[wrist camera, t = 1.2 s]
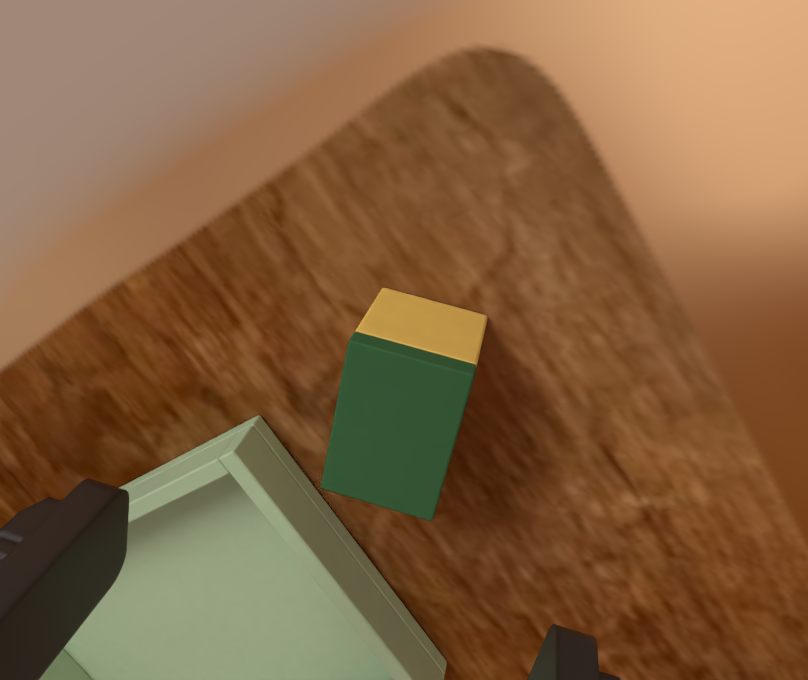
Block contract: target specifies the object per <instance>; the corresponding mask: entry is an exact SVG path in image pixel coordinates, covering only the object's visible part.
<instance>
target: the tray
mask: <svg viewBox="0 0 808 680" xmlns="http://www.w3.org/2000/svg"><path fill="white" fill-rule="evenodd" d="M120 488H121V489H124V490H127V491H128V493H129V515H128V534H127V551H126V557H125V561H124V564H123V566H122V569H121V571H120V573H119V575H118V577H117V579H116V581H115V582H114V584H113V585H112V587H111V588H110V589H109V591H108V592H107V593H106V594H105V596H104V597H103V598H102V599H101V601H100V602H99V603H98V605H97V606H96V607H95V608H94V610H93V611H92V612H91V614H90V615H89V616H88V617H87V619H86V620H85V621H84V623H83V624H82V625H81V626H80V628H79V629H78V630H77V632H76V633H75V634H74V635H73V637H72V638H71V639H70V641H69V642H68V643H67V644H66V646H65V647H64V648H63V649H62V651H61V652H60V653H59V655H58V656H57V657H56V658H55V660H54V661H53V662H52V664H51V665H50V666H49V667H48V669H47V670H46V671H45V673H44V674H43V675H42V676H41V678H40V679H39V680H444V675H445V671H446V665H447V661H446V660H445V658H444V657H443V656H442V655H441V653H440V652H439V651H438V649H437V648H436V647H435V645H434V644H433V643H432V641H431V640H430V639H429V637H428V636H427V635H426V633H425V632H424V631H423V629H422V628H421V627H420V626H419V624H418V623H417V622H416V620H415V619H414V618H413V616H412V615H411V614H410V612H409V611H408V610H407V608H406V607H405V606H404V604H403V603H402V602H401V600H400V599H399V598H398V597H397V595H396V594H395V593H394V591H393V590H392V589H391V587H390V586H389V585H388V583H387V582H386V581H385V579H384V578H383V577H382V575H381V574H380V573H379V571H378V570H377V569H376V568H375V566H374V565H373V564H372V562H371V561H370V560H369V558H368V557H367V556H366V554H365V553H364V552H363V550H362V549H361V548H360V546H359V545H358V544H357V542H356V541H355V540H354V539H353V537H352V536H351V535H350V533H349V532H348V531H347V529H346V528H345V527H344V525H343V524H342V523H341V521H340V520H339V519H338V517H337V516H336V515H335V513H334V512H333V511H332V510H331V508H330V507H329V506H328V504H327V503H326V502H325V500H324V499H323V498H322V496H321V495H320V494H319V492H318V491H317V490H316V488H315V487H314V486H313V484H312V483H311V482H310V481H309V479H308V478H307V477H306V475H305V474H304V473H303V471H302V470H301V469H300V467H299V466H298V465H297V463H296V462H295V461H294V459H293V458H292V457H291V455H290V454H289V453H288V452H287V450H286V449H285V448H284V446H283V445H282V444H281V442H280V441H279V440H278V438H277V437H276V436H275V434H274V433H273V432H272V430H271V429H270V428H269V426H268V425H267V424H266V423H265V421H264V420H263V419H262V417H261V416H260V415H258V416H256V417H254V418H252V419H250V420H248V421H246V422H244V423H243V424H241V425H239V426H237V427H235V428H233V429H231V430H229V431H227V432H225V433H223V434H221V435H220V436H218V437H216V438H214V439H212V440H210V441H208V442H206V443H204V444H202V445H200V446H198V447H197V448H195V449H193V450H191V451H189V452H187V453H185V454H183V455H181V456H179V457H177V458H175V459H174V460H172V461H170V462H168V463H166V464H164V465H162V466H160V467H158V468H156V469H154V470H152V471H151V472H149V473H147V474H145V475H143V476H141V477H139V478H137V479H135V480H133V481H131V482H129V483H128V484H126V485H124V486H122V487H120Z"/></svg>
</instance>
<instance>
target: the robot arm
mask: <svg viewBox="0 0 808 680" xmlns="http://www.w3.org/2000/svg"><path fill="white" fill-rule="evenodd" d="M128 515H129V493H128V491H127V490H124V489H121V488H118V487H115V486H111V485H108V484H105V483H102V482H98V481H95V480H92V479H86V480H84V481H82V482H81V483H80V484H79V485H78V486H77V487H75V488H74V489H73V490H72V491H71V492H70V493H69V494H68V495H67V496H66V497H65V498H64V499H63V500H62V501H60V500H57V499H53V498H50V497H48V498H46V499H44V500H42V501H40V502H38V503H36V504H34V505H32V506H30V507H28V508H26V509H24V510H22V511H20V512H19V513H17V514H16V515H15V516H14V517H13V518H12V519H11V520H10V521H9V522H8V523H7V524H6V525H4V526H3V527H2V528H1V529H0V680H39V679H40V678H41V676H42V675H43V674H44V673H45V671H46V670H47V669H48V667H49V666H50V665H51V664H52V662H53V661H54V660H55V658H56V657H57V656H58V655H59V653H60V652H61V651H62V649H63V648H64V647H65V646H66V644H67V643H68V642H69V641H70V639H71V638H72V637H73V635H74V634H75V633H76V632H77V630H78V629H79V628H80V626H81V625H82V624H83V623H84V621H85V620H86V619H87V617H88V616H89V615H90V614H91V612H92V611H93V610H94V608H95V607H96V606H97V605H98V603H99V602H100V601H101V599H102V598H103V597H104V596H105V594H106V593H107V592H108V591H109V589H110V588H111V587H112V585H113V584H114V582H115V581H116V579H117V577H118V575H119V573H120V571H121V569H122V566H123V564H124V561H125V557H126V551H127V534H128ZM527 680H620V678H619V677H616V676H613V675H609V674H606V673H603V672H600V671H599V667H598V652H597V642H596V639H595V637H594V636H591V635H587V634H584V633H581V632H578V631H574V630H571V629H568V628H565V627H561V626H558V625H555V624H553V625H551V627H550V628H549V630H548V633H547V635H546V637H545V640H544V642H543V644H542V647H541V649H540V651H539V654H538V656H537V658H536V661H535V663H534V665H533V668H532V670H531V672H530V675H529V677H528V679H527Z"/></svg>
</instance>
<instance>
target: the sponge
mask: <svg viewBox="0 0 808 680" xmlns="http://www.w3.org/2000/svg"><path fill="white" fill-rule="evenodd" d="M486 323H487V316H486V315H483V314H480V313H476V312H472V311H469V310H465V309H461V308H458V307H454V306H450V305H446V304H443V303H439V302H435V301H432V300H428V299H424V298H421V297H417V296H413V295H409V294H406V293H402V292H398V291H395V290H391V289H387V288H382V289H381V291H380V292H379V294H378V296H377V297H376V299H375V300H374V302H373V304H372V305H371V307H370V308H369V310H368V312H367V313H366V315H365V316H364V318H363V320H362V321H361V323H360V324H359V326H358V328H357V329H356V331H355V332H354V334H353V335H352V337H351V338H350V340H349V342H348V347H347V352H346V357H345V362H344V368H343V373H342V378H341V383H340V388H339V394H338V399H337V404H336V409H335V415H334V420H333V425H332V430H331V435H330V441H329V446H328V451H327V456H326V461H325V467H324V472H323V477H322V482H321V488H322V489H324V490H327V491H331V492H334V493H338V494H341V495H344V496H348V497H351V498H354V499H358V500H361V501H364V502H368V503H371V504H375V505H378V506H381V507H385V508H388V509H391V510H395V511H398V512H402V513H405V514H408V515H412V516H415V517H418V518H422V519H425V520H428V521H432V520H433V518H434V515H435V511H436V508H437V504H438V501H439V497H440V494H441V490H442V487H443V483H444V480H445V477H446V473H447V470H448V466H449V463H450V459H451V456H452V452H453V449H454V446H455V442H456V439H457V435H458V432H459V428H460V425H461V421H462V418H463V414H464V411H465V408H466V404H467V401H468V397H469V394H470V390H471V387H472V383H473V380H474V376H475V372H476V367H477V363H478V359H479V354H480V350H481V345H482V341H483V336H484V332H485V328H486Z"/></svg>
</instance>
